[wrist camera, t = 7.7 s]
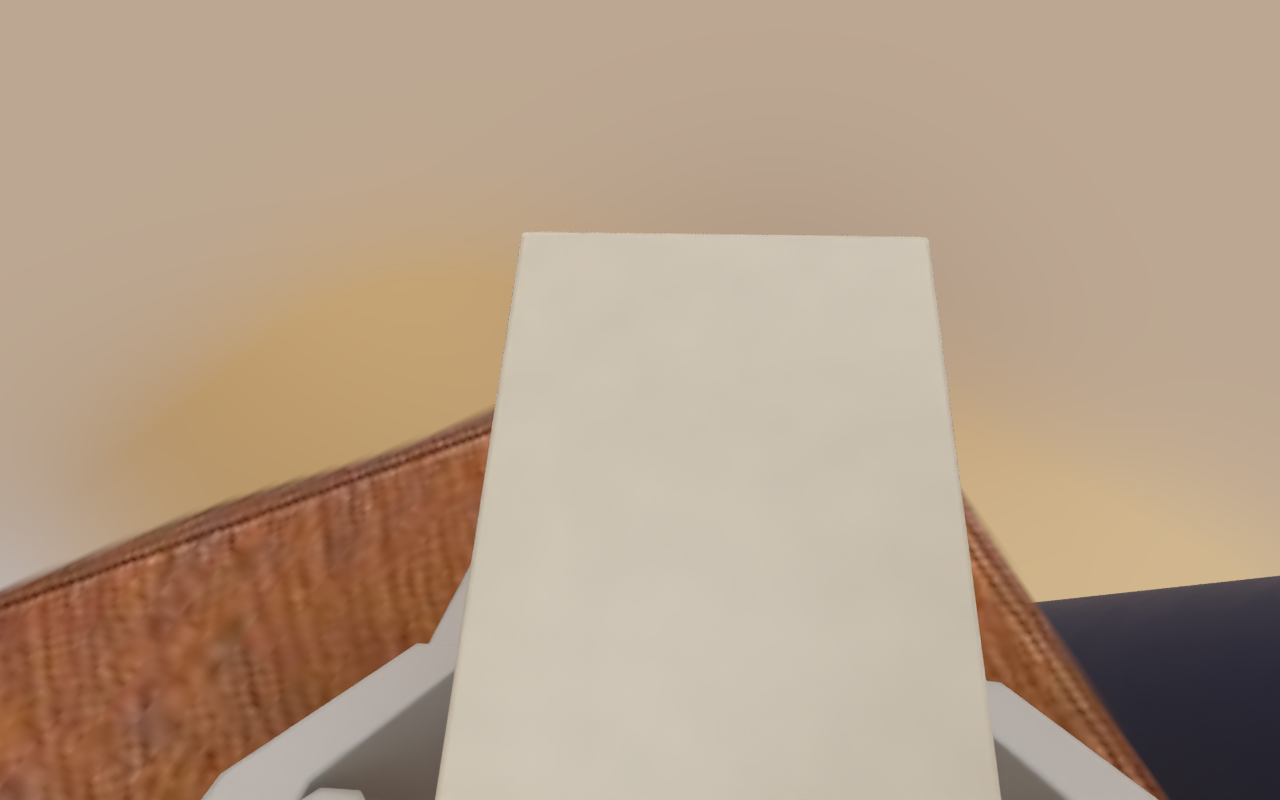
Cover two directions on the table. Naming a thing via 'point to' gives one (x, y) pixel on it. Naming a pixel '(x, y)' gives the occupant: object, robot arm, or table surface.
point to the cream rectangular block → (721, 532)
